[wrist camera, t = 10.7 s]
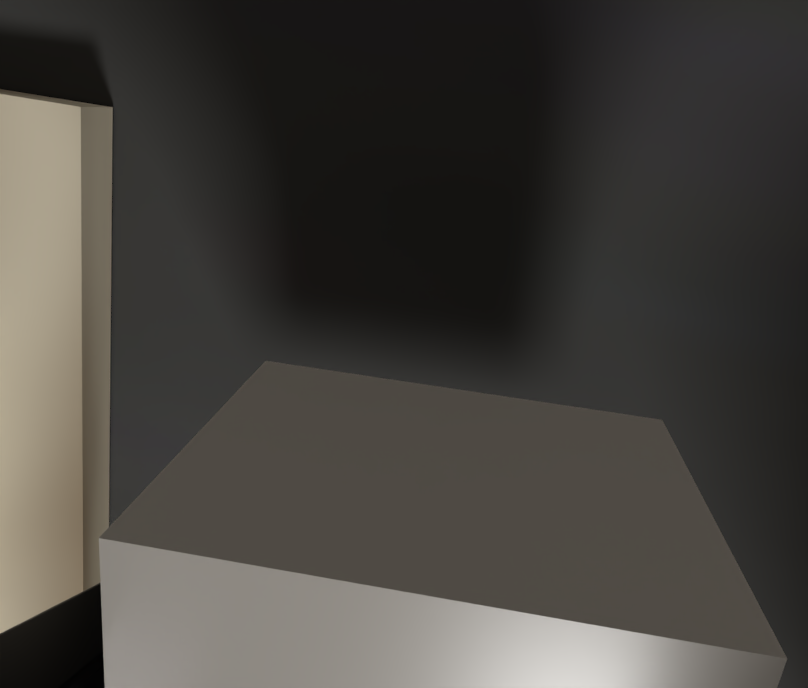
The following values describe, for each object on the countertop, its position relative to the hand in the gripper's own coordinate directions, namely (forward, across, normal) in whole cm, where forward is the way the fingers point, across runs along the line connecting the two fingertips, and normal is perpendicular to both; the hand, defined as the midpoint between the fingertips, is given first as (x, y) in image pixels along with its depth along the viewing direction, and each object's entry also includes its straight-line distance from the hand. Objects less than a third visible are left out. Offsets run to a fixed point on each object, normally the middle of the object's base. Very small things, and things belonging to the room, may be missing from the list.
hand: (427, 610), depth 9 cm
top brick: (+1, 0, 0) cm, 1 cm away
